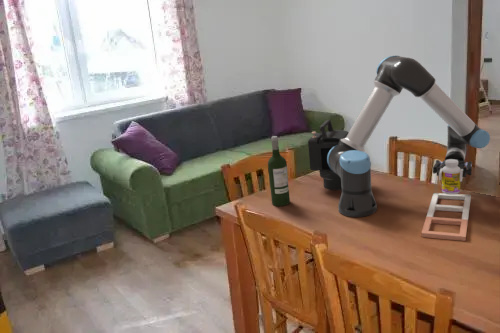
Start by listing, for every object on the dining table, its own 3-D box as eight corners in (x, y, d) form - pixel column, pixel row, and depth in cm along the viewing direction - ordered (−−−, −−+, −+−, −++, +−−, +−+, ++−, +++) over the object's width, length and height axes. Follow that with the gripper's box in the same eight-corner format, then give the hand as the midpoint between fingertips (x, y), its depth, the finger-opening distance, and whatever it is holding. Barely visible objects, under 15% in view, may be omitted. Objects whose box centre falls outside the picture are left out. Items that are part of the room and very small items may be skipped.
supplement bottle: (441, 194, 189) (441, 163, 185) (441, 188, 194) (442, 158, 191) (460, 195, 186) (461, 163, 182) (460, 189, 192) (460, 158, 188)
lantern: (350, 191, 216) (346, 126, 207) (311, 190, 223) (306, 126, 214) (356, 180, 229) (353, 118, 220) (319, 179, 236) (314, 118, 227)
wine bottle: (281, 207, 208) (274, 140, 199) (268, 203, 213) (261, 138, 204) (293, 201, 212) (287, 135, 203) (281, 198, 218) (274, 133, 209)
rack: (433, 196, 201) (433, 192, 200) (470, 198, 195) (470, 194, 194) (421, 236, 169) (421, 232, 168) (465, 240, 162) (465, 236, 162)
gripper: (480, 168, 200) (478, 188, 180) (429, 166, 208) (422, 185, 189) (481, 151, 198) (479, 169, 178) (430, 150, 206) (423, 166, 187)
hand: (450, 177), depth 184 cm, fingers closed on supplement bottle, 7 cm apart
